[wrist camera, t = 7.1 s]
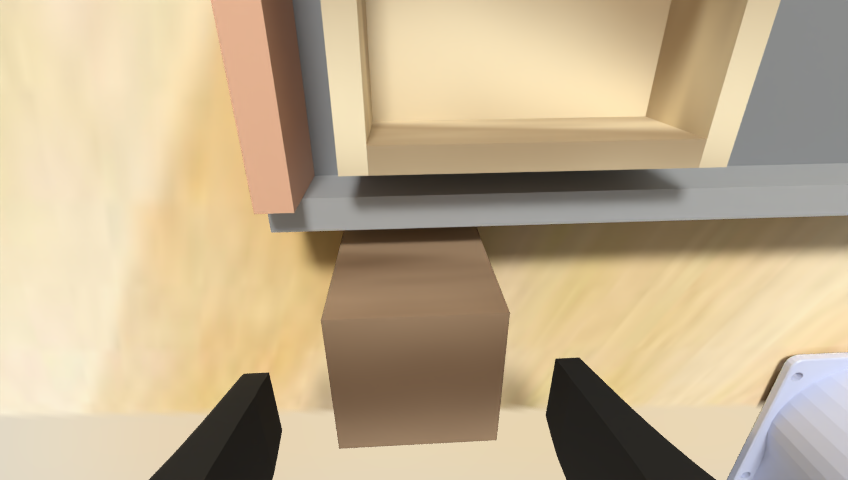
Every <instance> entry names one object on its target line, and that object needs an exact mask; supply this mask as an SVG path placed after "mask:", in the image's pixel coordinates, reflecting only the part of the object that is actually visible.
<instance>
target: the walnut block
mask: <svg viewBox="0 0 848 480" xmlns="http://www.w3.org/2000/svg"><path fill="white" fill-rule="evenodd" d="M509 316H510V312H509V310H508V307H507V304H506V302H505V299H504V297H503V294H502V292H501V289H500V287H499V284H498V281H497V279H496V276H495V274H494V271H493V269H492V266H491V264H490V261H489V259H488V256H487V253H486V251H485V248H484V246H483V243H482V241H481V238H480V236H479V233H478V230H477V228H476V226H471V227H437V228H404V229H370V230H344V233H343V237H342V241H341V244H340V248H339V252H338V256H337V260H336V264H335V268H334V272H333V276H332V279H331V283H330V287H329V291H328V295H327V299H326V303H325V307H324V311H323V314H322V318H321V324H322V331H323V338H324V345H325V352H326V359H327V366H328V373H329V380H330V387H331V394H332V401H333V408H334V414H335V422H336V429H337V436H338V443H339V448H358V447H376V446H394V445H414V444H432V443H451V442H468V441H488V440H496V439H497V431H498V421H499V412H500V402H501V392H502V383H503V373H504V364H505V354H506V345H507V335H508V326H509Z"/></svg>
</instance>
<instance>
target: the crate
mask: <svg viewBox="0 0 848 480" xmlns="http://www.w3.org/2000/svg"><path fill="white" fill-rule="evenodd" d="M320 1H321V11H322V21H323V31H324V41H325V50H326V60H327V70H328V80H329V90H330V100H331V110H332V120H333V129H334V139H335V149H336V159H337V169H338V176H377V175H420V174H462V173H504V172H546V171H589V170H631V169H673V168H716V167H727V164H728V161H729V158H730V155H731V152H732V149H733V146H734V143H735V140H736V136H737V133H738V130H739V127H740V124H741V121H742V118H743V115H744V112H745V109H746V106H747V103H748V100H749V96H750V93H751V90H752V87H753V84H754V81H755V78H756V75H757V72H758V69H759V66H760V63H761V60H762V56H763V53H764V50H765V47H766V44H767V41H768V38H769V35H770V32H771V29H772V26H773V23H774V20H775V16H776V13H777V10H778V7H779V4H780V1H781V0H320Z"/></svg>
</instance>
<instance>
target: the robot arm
mask: <svg viewBox="0 0 848 480" xmlns="http://www.w3.org/2000/svg"><path fill="white" fill-rule="evenodd" d="M546 418H547V422H548V426H549V429H550V433H551V437H552V440H553V444H554V447H555V451H556V454H557V457H558V460H559V462H560V465H561V467H562V469H563V472H564V475H565V477H566V480H716V479H714V478H713V477H712V476H710V475H709V474H708V473H707V472H705V471H704V470H703V469H702V468H700V467H699V466H698V465H696V464H695V463H694V462H693V461H692V460H690V459H689V458H688V457H687V456H685V455H684V454H683V453H682V452H681V451H680V450H678V449H677V448H676V447H675V446H674V445H672V444H671V443H670V442H669V441H668V440H667V439H665V438H664V437H663V436H662V435H661V434H660V433H659V432H657V431H656V430H655V429H654V428H653V427H652V426H651V425H649V424H648V423H647V422H646V421H645V420H644V419H643V418H642V417H641V416H640V415H638V414H637V413H636V412H635V411H634V410H633V409H632V408H631V407H630V406H629V405H628V404H627V403H626V402H625V401H624V400H622V399H621V398H620V397H619V396H618V395H617V394H616V393H615V392H614V391H613V390H612V389H611V388H610V387H609V386H608V385H607V384H606V383H605V382H604V381H603V380H602V379H601V378H600V377H599V376H598V375H597V374H596V373H595V372H593V371H592V370H591V369H590V368H589V367H588V366H587V365H586V364H585V363H584V362H583V361H582V360H581V359H580V358H562V359H556V360H555V366H554V371H553V377H552V383H551V388H550V394H549V400H548V405H547V411H546ZM281 433H282V428H281V423H280V419H279V415H278V410H277V406H276V401H275V397H274V393H273V388H272V384H271V380H270V375H269V373H251V374H243V375H242V376H241V377H240V378H239V379H238V381H237V382H236V383H235V384H234V385H233V386H232V388H231V389H230V390H229V391H228V392H227V394H226V395H225V396H224V397H223V398H222V399H221V401H220V402H219V403H218V404H217V405H216V407H215V408H214V409H213V410H212V411H211V412H210V414H209V415H208V416H207V417H206V418H205V420H203V422H202V423H201V424H200V425H199V426H198V428H196V430H195V431H194V432H193V433H192V434H191V435H190V436H189V437H188V438H187V440H186V441H185V442H184V443H183V444H182V445H181V446H180V448H179V449H178V450H177V451H176V452H175V453H174V454H173V455H172V456H171V457H170V458H169V459H168V460H167V461H166V462H165V463H164V465H163V466H162V467H161V468H160V469H159V470H158V471H157V472H156V473H155V474H154V475H153V476H152V477H151V478H150V479H149V480H272V478H273V475H274V471H275V465H276V460H277V455H278V450H279V444H280V439H281ZM727 480H848V352H846V353H824V354H802V355H794V356H792V357H790V358H788V359H787V360H786V362H785V363H784V365H783V367H782V369H781V371H780V373H779V375H778V377H777V379H776V381H775V383H774V385H773V387H772V389H771V391H770V393H769V395H768V397H767V399H766V401H765V403H764V405H763V407H762V410H761V412H760V414H759V416H758V418H757V420H756V422H755V424H754V426H753V428H752V430H751V432H750V434H749V436H748V438H747V440H746V442H745V444H744V446H743V448H742V450H741V452H740V454H739V456H738V458H737V460H736V462H735V464H734V466H733V469H732V470H731V472H730V474H729V476H728V478H727Z"/></svg>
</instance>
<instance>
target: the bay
mask: <svg viewBox="0 0 848 480" xmlns="http://www.w3.org/2000/svg"><path fill="white" fill-rule="evenodd" d="M211 3H212V8H213V13H214V18H215V23H216V28H217V33H218V38H219V43H220V48H221V52H222V57H223V62H224V67H225V72H226V77H227V82H228V87H229V92H230V97H231V102H232V107H233V112H234V117H235V122H236V126H237V131H238V136H239V141H240V146H241V151H242V156H243V161H244V166H245V171H246V176H247V181H248V186H249V191H250V196H251V200H252V205H253V210H254V214H268V217H269V223H270V228H271V232H303V231H336V230H370V229H404V228H437V227H471V226H505V225H539V224H572V223H606V222H640V221H674V220H707V219H741V218H775V217H809V216H842V215H848V0H781V1H780V4H779V7H778V10H777V13H776V16H775V20H774V23H773V26H772V29H771V32H770V35H769V38H768V41H767V44H766V47H765V50H764V53H763V56H762V60H761V63H760V66H759V69H758V72H757V75H756V78H755V81H754V84H753V87H752V90H751V93H750V96H749V100H748V103H747V106H746V109H745V112H744V115H743V118H742V121H741V124H740V127H739V130H738V133H737V136H736V140H735V143H734V146H733V149H732V152H731V155H730V158H729V161H728V164H727V167H716V168H673V169H631V170H589V171H546V172H504V173H462V174H420V175H377V176H338V169H337V159H336V149H335V139H334V129H333V120H332V110H331V100H330V90H329V80H328V70H327V60H326V50H325V41H324V31H323V21H322V11H321V1H320V0H211Z"/></svg>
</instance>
